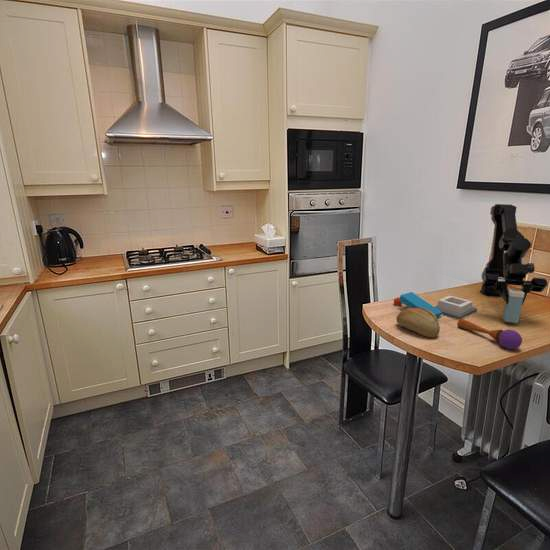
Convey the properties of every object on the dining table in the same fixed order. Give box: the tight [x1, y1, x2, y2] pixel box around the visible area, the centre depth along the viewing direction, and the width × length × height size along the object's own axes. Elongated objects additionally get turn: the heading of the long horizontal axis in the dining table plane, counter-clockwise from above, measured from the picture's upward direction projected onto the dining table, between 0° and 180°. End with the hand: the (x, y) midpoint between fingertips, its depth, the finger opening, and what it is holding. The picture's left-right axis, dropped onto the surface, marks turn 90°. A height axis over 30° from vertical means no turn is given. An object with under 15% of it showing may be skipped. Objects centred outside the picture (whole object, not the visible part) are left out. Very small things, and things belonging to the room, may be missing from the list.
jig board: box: [434, 295, 478, 320], centre depth 140 cm, size 14×11×4 cm
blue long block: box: [393, 291, 442, 319], centre depth 140 cm, size 7×7×18 cm
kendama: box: [457, 318, 523, 350], centre depth 117 cm, size 6×6×20 cm
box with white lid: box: [502, 288, 525, 324], centre depth 127 cm, size 4×4×11 cm
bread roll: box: [396, 306, 441, 339], centre depth 122 cm, size 10×15×8 cm, turn 39°
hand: (514, 304), depth 126 cm, fingers closed on box with white lid, 4 cm apart
